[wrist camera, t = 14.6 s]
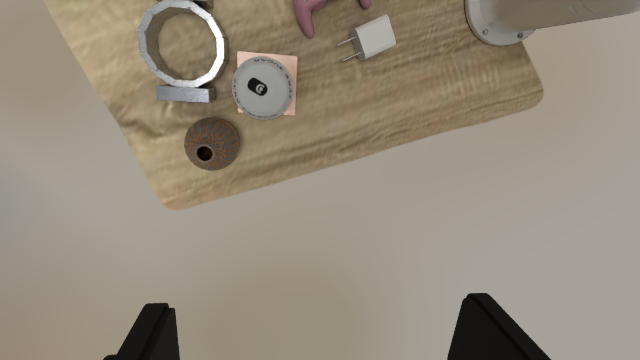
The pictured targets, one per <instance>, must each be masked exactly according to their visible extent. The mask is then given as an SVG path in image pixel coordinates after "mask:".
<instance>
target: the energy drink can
mask: <svg viewBox="0 0 640 360" xmlns="http://www.w3.org/2000/svg"><path fill="white" fill-rule="evenodd" d="M232 93H233V97H234V99H235V102H236V103H237V105H238V107H239V108H240V109H241V110H242V111H243V112H244V113H245V114H247V115H248V116H250V117H252V118H255V119H259V120H270V119H274V118H276V117H278V116H280V115H282V114H283V113H284V112H285V111H286V110H287V109H288V107H289V106H290V104H291V102H292V99H293V95H294V85H293V80H292V78H291V75H290V73H289V72H288V70H287V69H286V68H285V67H284V65H282V64H281V63H280V62H279V61H277V60H275V59H273V58H270V57H264V56H258V57H253V58H250V59H248V60H246V61H244V62H243V63H242V64H241V65H240V66H239V67H238V68H237V70H236V71H235V74H234V76H233V80H232Z"/></svg>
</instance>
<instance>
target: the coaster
mask: <svg viewBox="0 0 640 360" xmlns="http://www.w3.org/2000/svg"><path fill="white" fill-rule="evenodd" d="M258 56H264V57H270V58H273V59H275V60H277V61H279V62H280V63H281V64H282V65H284V67H285V68H286V69H287V70H288V72H289V73H290V75H291V78H292V80H293V85H294V95H293V99H292V102H291V104H290V106H289V107H288V109H287V110H286V111H285V112H284V113H283V114H282V115H292V116H295V102H296V80H297V57H298V56H288V55H276V54H264V53H252V52H240V51H237V68H238V67H239V66H240V65H241V64H242V63H243V62H244V61H246V60H248V59H250V58H253V57H258ZM238 113H244V112H243V111H242V110H241V109H240V108H239V107H238Z"/></svg>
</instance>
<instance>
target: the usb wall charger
mask: <svg viewBox="0 0 640 360" xmlns="http://www.w3.org/2000/svg"><path fill="white" fill-rule="evenodd" d="M350 36H351V39H352V42H353V45H354V47H355V50H356V54H354V55H352V56H350V57H348V58H346V59H344V60H342V61H345V60H347V59H349V58H351V57H353V56H355V55H357V56H358V58H359V60H364V59H367V58H369V57H371V56H374V55H376V54H378V53H380V52H382V51H384V50H387V49H389V48H391V47H393V46H395V45H396V40H395V37H394V34H393V30H392V27H391V24H390V21H389V18H388V16H387V15H386V14H385V15H382V16H380V17H378V18H376V19H374V20H372V21H369V22H367V23H365V24H363V25H361V26H359V27H357V28H354V29H353V30H351V31H350ZM351 39H349V40H351ZM349 40H346V41H344V42H342V43H340V44H338V45H341V44H343V43H345V42H347V41H349ZM338 45H336V46H338Z"/></svg>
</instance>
